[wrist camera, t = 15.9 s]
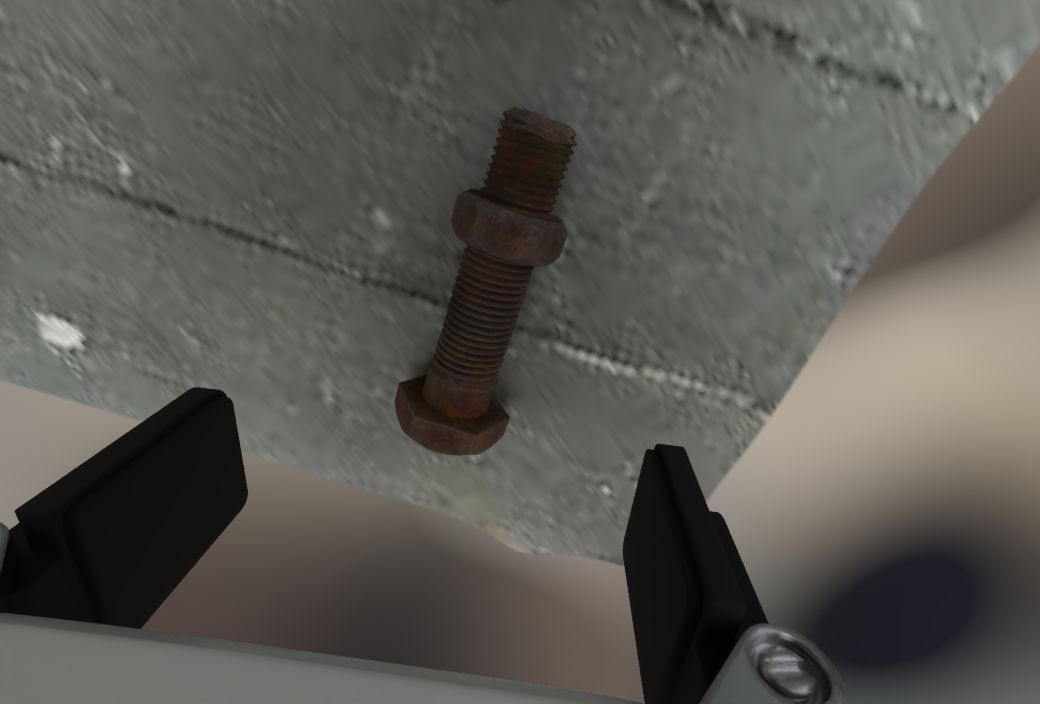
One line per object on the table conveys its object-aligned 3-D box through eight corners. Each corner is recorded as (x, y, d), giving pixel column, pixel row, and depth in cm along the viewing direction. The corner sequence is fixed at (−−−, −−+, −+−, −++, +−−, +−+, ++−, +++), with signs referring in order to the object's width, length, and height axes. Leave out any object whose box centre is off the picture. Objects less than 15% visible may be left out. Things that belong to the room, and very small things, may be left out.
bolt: (559, 127, 23) (471, 395, 29) (461, 89, 20) (386, 392, 26) (633, 148, 19) (512, 460, 24) (520, 103, 16) (415, 464, 22)
